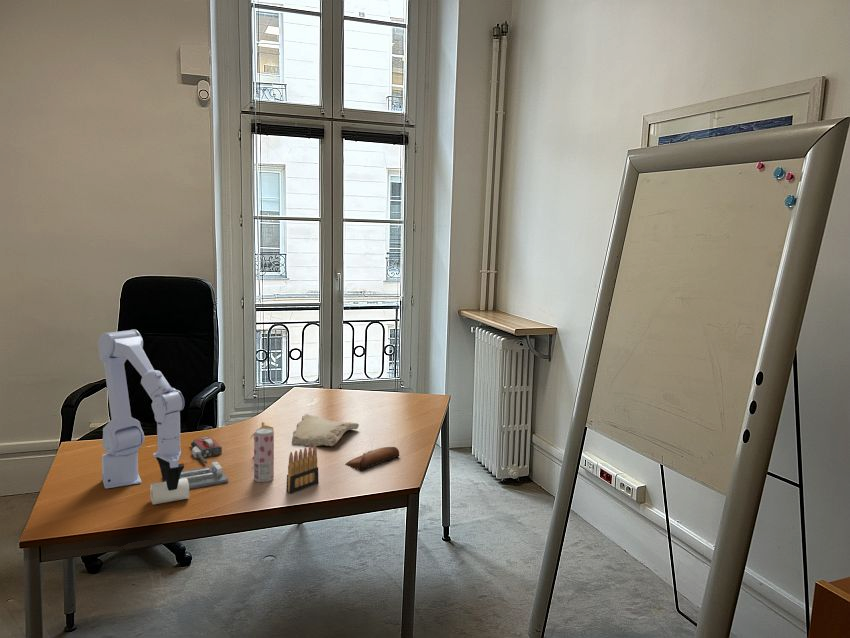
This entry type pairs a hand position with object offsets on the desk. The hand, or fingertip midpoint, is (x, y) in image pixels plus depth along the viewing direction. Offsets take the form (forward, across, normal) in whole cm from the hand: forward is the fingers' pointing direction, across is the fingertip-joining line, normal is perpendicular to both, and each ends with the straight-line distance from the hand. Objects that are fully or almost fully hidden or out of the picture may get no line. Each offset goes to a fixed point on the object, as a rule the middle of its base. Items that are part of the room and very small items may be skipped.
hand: (169, 484), depth 171 cm
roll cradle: (+4, -11, +9) cm, 15 cm away
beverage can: (+5, -3, +27) cm, 28 cm away
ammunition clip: (+5, +8, +35) cm, 36 cm away
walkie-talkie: (+5, -31, +17) cm, 36 cm away
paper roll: (+5, 0, 0) cm, 5 cm away
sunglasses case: (+5, -2, +63) cm, 63 cm away
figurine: (+5, -21, +32) cm, 39 cm away
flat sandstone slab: (+5, -32, +58) cm, 66 cm away
